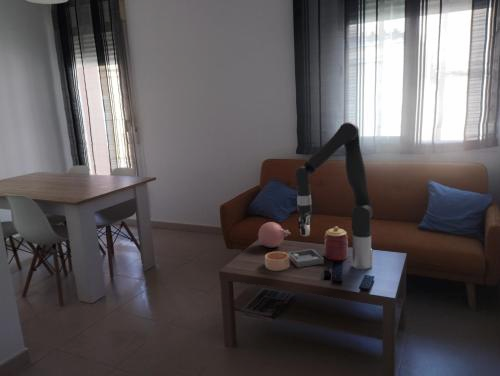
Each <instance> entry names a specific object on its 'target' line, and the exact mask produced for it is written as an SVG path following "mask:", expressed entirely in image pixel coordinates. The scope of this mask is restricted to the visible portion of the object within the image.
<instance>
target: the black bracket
mask: <svg viewBox="0 0 500 376" xmlns="http://www.w3.org/2000/svg"><path fill="white" fill-rule="evenodd" d="M331 273H332V272H331V267H324V268H323V271H322V272H321V278H320V279H321V281H329V282H330V281H331Z"/></svg>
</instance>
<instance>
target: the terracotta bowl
mask: <svg viewBox="0 0 500 376" xmlns="http://www.w3.org/2000/svg"><path fill="white" fill-rule="evenodd" d="M264 266H265V268H266V269H267V270H269V271H274V272H275V271H276V272H277V271H278V272H279V271H284V270H285V271H286V270H287V269H289V268H290V259H289V255H288V252H284V251H272V252H271V251H270V252H268V253H266V254H265V255H264Z"/></svg>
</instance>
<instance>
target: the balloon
mask: <svg viewBox="0 0 500 376" xmlns="http://www.w3.org/2000/svg"><path fill="white" fill-rule="evenodd" d="M258 230H259V231H258V235H257V236H258V240H259V241H260V243H261V244H262V246H264V247H266V248H271V249H272V248H276V247H278V246H280V245H281V244H282V242H283V241H284V238H285V237H288V236H289V235H291V234H292V233H291V232H290V231H289V229H284V228H282V226H281V225H280V224H279V223H276V222H274V221H269V222H266V223H263V224H262V226H261V227H259V229H258Z"/></svg>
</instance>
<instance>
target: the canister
mask: <svg viewBox="0 0 500 376" xmlns="http://www.w3.org/2000/svg"><path fill="white" fill-rule="evenodd" d="M323 238H324V239H325V240H324V257H325V258H326V259H327V260H329V261H330V260H331V261H344V260H346V259H347V258H348V257H349V247H348V246H349V241H348V239H349V236H348V235H347V231H346V230H345V229H342V228H339V226H336V225H335V226H334V227H333V228H329V229H328V230H326V231H325V235H324V237H323Z"/></svg>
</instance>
